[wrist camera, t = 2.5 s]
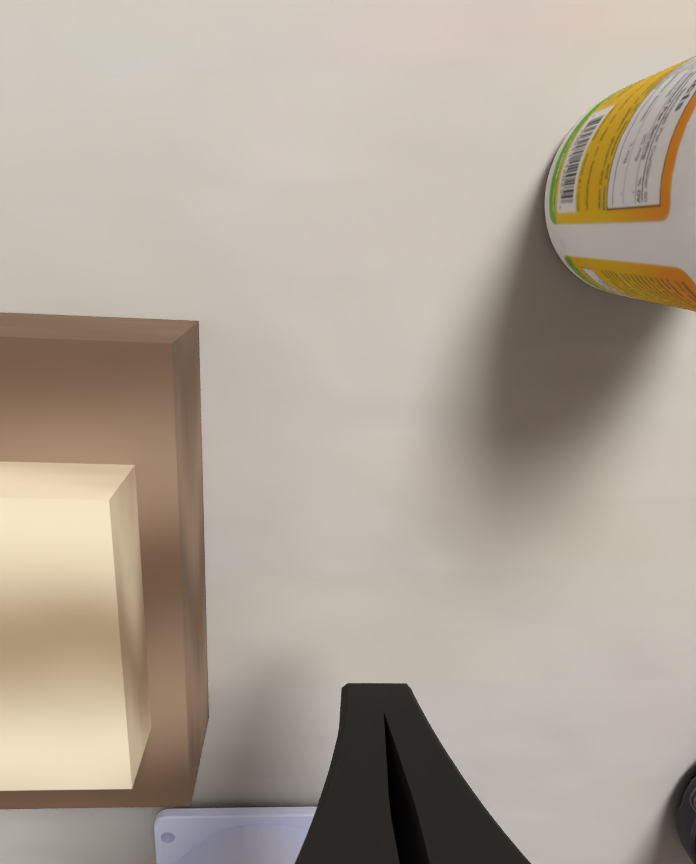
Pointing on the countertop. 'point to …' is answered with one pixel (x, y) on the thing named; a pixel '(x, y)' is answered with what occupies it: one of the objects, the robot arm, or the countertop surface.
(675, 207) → the supplement bottle
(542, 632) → the countertop surface
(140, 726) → the maple block
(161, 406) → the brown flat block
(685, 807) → the speaker
